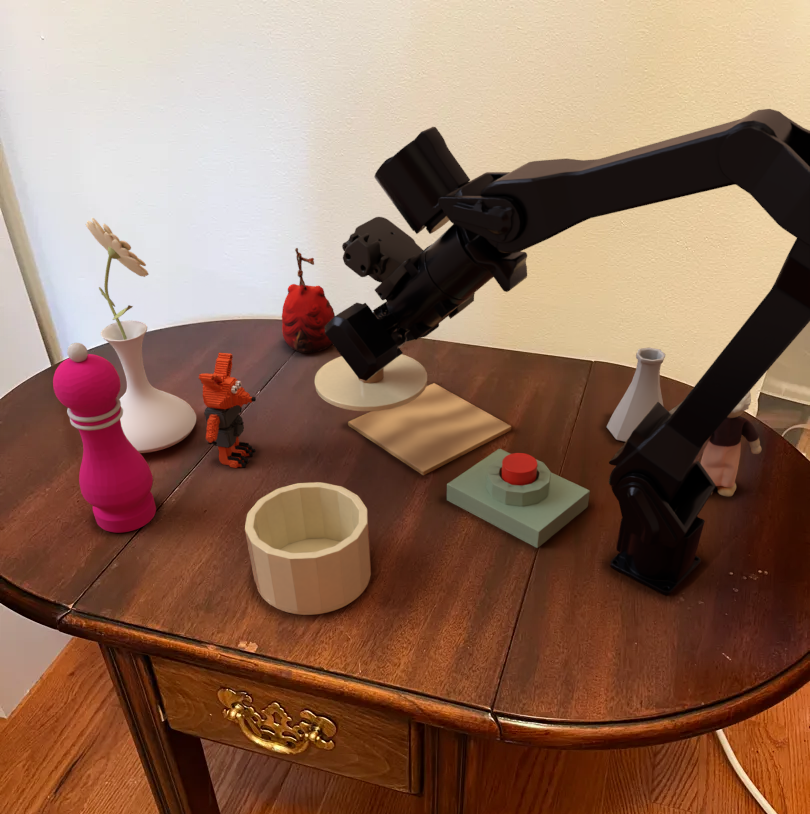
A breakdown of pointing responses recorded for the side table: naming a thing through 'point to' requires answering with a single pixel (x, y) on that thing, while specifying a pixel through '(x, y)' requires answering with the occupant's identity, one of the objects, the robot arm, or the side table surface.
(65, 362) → the pepper mill
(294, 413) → the side table surface
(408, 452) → the wooden board
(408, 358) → the jar lid
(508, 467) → the release button
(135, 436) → the flower in vase
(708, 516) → the side table surface
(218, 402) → the toy animal
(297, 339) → the red clay folk toy
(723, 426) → the grandmother figurine
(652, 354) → the flask
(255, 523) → the jar
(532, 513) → the button base
